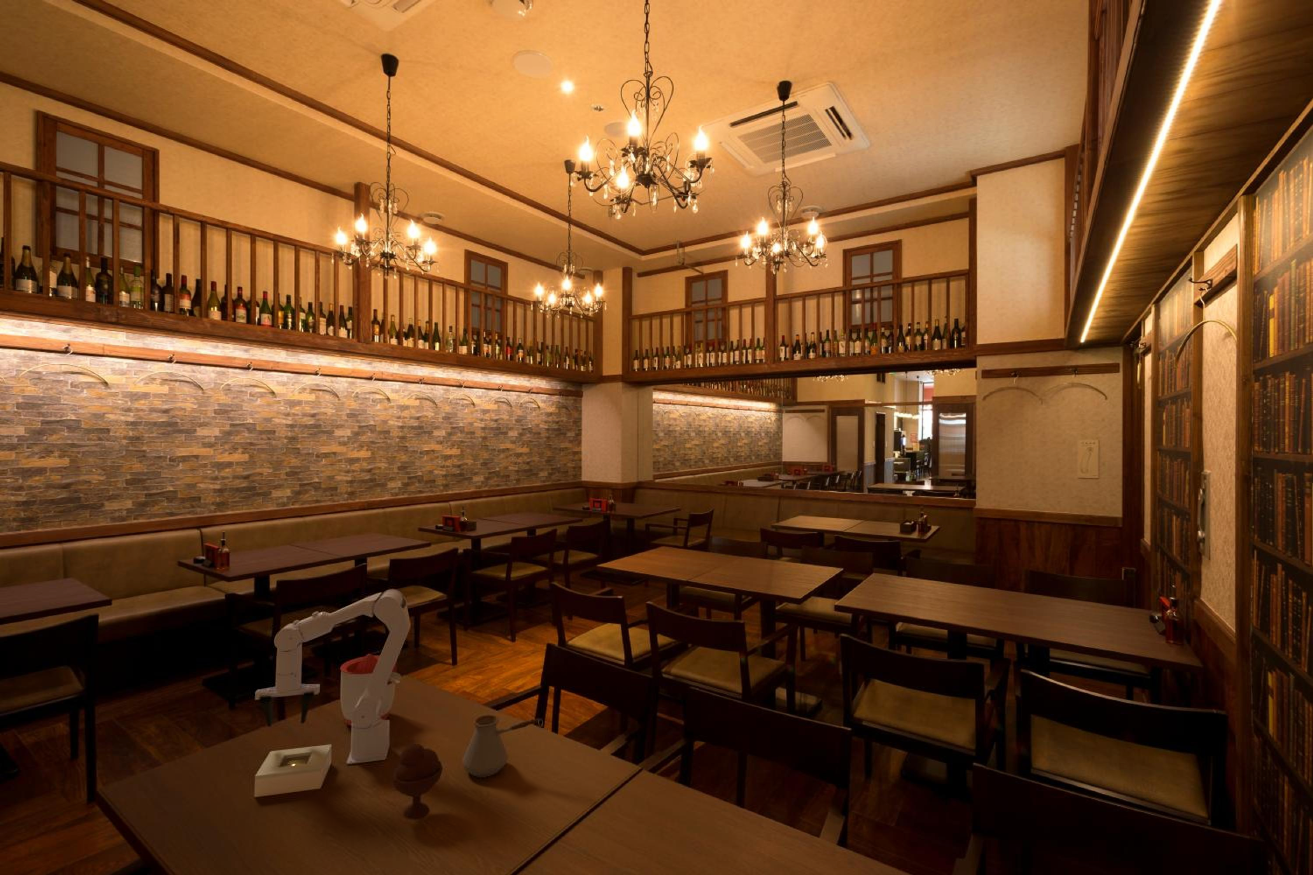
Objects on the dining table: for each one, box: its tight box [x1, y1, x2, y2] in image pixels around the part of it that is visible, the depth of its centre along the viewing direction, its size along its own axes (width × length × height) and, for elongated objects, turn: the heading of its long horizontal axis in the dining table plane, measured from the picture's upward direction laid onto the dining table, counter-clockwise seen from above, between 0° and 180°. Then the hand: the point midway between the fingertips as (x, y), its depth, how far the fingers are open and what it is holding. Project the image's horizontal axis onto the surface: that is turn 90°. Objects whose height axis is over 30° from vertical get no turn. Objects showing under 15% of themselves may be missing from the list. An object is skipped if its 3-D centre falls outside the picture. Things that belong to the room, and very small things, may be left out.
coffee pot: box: [462, 714, 544, 778], centre depth 157 cm, size 21×12×15 cm, turn 78°
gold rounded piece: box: [285, 759, 306, 766], centre depth 151 cm, size 4×4×3 cm
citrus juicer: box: [339, 653, 402, 727], centre depth 185 cm, size 16×17×20 cm
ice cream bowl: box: [391, 743, 443, 819], centre depth 139 cm, size 11×11×15 cm
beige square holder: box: [253, 744, 332, 798], centre depth 151 cm, size 14×12×5 cm
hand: (286, 723), depth 158 cm, fingers open, 7 cm apart
